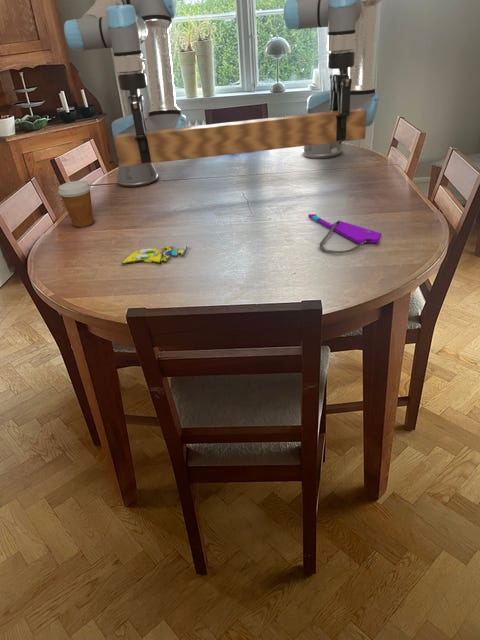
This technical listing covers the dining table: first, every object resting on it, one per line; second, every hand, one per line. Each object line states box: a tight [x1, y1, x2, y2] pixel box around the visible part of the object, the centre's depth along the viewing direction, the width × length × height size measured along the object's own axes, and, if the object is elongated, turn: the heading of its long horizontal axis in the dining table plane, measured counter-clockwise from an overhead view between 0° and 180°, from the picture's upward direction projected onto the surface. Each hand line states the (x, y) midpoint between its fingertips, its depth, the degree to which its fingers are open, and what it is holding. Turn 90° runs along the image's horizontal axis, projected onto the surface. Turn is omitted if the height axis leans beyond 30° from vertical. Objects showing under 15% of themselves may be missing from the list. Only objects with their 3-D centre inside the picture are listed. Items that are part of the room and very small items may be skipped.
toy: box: [121, 245, 188, 265], centre depth 125 cm, size 10×1×15 cm
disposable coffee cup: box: [58, 180, 95, 228], centre depth 147 cm, size 10×10×12 cm
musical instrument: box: [308, 213, 382, 254], centre depth 126 cm, size 24×2×20 cm
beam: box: [113, 108, 367, 167], centre depth 143 cm, size 74×4×8 cm, turn 98°
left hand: (146, 159), depth 143 cm, fingers closed on beam, 4 cm apart
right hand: (338, 138), depth 147 cm, fingers closed on beam, 4 cm apart
